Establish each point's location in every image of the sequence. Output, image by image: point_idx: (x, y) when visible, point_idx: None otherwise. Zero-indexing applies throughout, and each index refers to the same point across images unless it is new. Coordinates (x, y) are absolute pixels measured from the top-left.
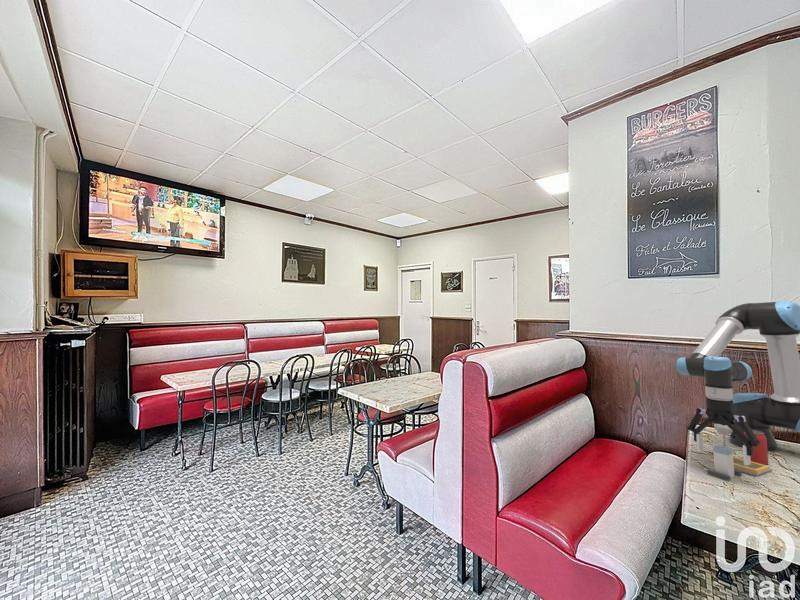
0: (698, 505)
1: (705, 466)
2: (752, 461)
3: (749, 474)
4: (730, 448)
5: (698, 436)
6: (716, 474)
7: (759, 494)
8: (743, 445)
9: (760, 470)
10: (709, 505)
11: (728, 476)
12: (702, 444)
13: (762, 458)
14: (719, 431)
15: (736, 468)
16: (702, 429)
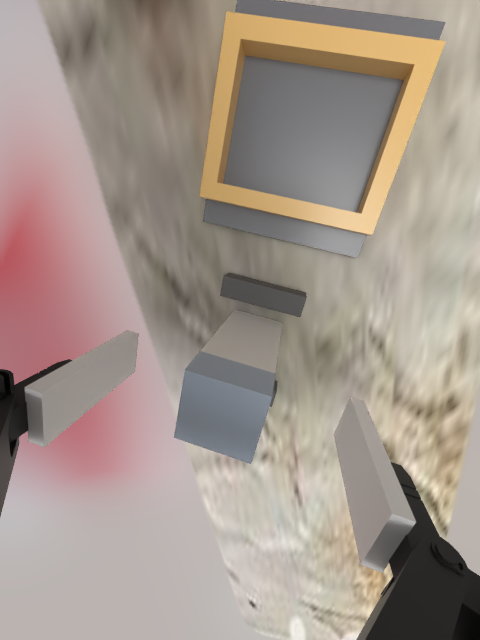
0: (251, 594)
1: (177, 282)
2: None
3: (331, 250)
4: (263, 414)
5: (57, 433)
6: None
7: None
8: (366, 561)
9: (385, 195)
10: (268, 585)
11: (272, 401)
12: (111, 359)
13: None
14: None
15: (277, 215)
16: (3, 452)
